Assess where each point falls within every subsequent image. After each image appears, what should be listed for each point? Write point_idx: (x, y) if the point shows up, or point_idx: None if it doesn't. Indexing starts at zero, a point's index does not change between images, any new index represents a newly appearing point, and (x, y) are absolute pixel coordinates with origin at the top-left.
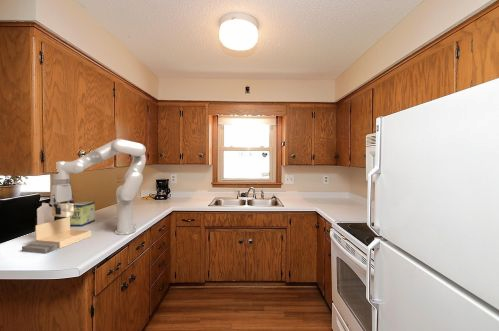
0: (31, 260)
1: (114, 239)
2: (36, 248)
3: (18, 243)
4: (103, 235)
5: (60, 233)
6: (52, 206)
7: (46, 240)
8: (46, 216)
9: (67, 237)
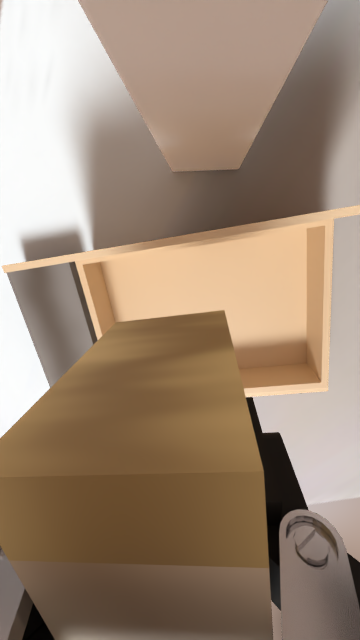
0: (18, 395)
1: (302, 484)
2: (40, 357)
3: (70, 43)
4: (351, 403)
5: (235, 239)
6: (24, 425)
7: (98, 324)
8: (162, 76)
9: (263, 256)
